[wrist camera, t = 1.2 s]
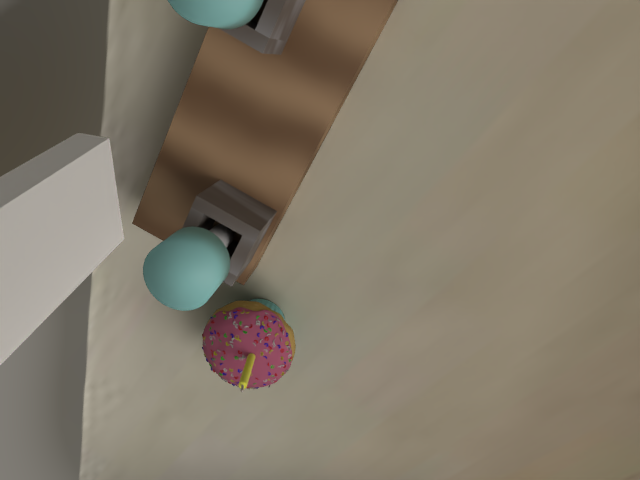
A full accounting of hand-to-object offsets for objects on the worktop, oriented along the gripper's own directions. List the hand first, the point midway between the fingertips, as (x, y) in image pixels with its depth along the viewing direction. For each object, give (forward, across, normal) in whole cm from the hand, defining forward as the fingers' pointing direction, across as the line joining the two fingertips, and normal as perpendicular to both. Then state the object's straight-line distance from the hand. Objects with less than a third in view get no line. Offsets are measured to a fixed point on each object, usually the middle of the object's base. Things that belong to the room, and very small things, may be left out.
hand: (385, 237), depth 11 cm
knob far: (+20, +11, +15) cm, 27 cm away
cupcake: (+26, +9, +28) cm, 39 cm away
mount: (+29, +11, +8) cm, 32 cm away
